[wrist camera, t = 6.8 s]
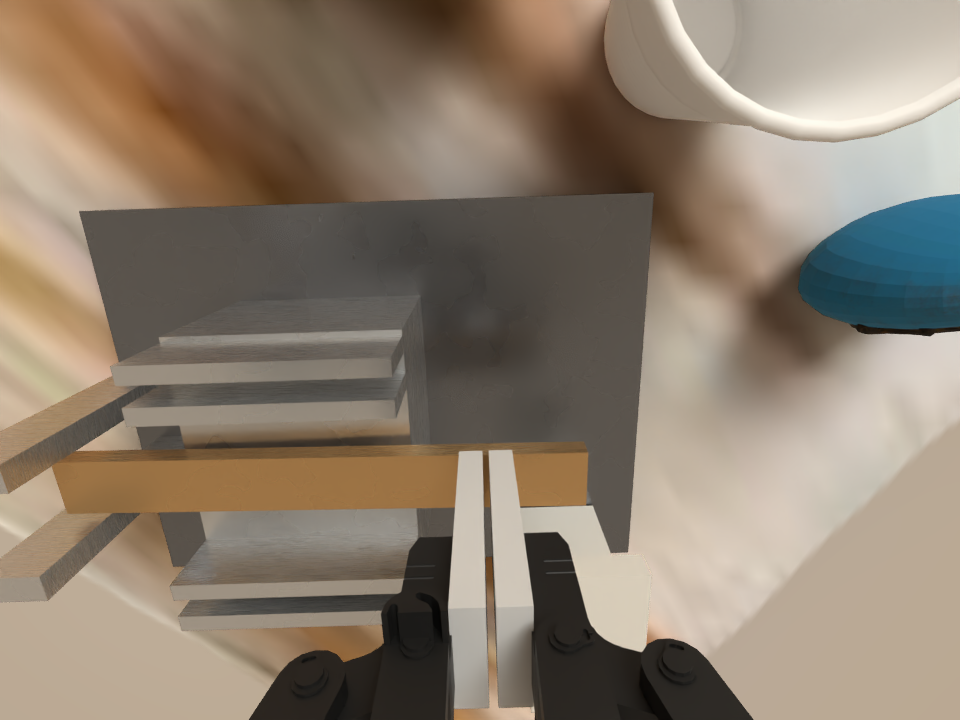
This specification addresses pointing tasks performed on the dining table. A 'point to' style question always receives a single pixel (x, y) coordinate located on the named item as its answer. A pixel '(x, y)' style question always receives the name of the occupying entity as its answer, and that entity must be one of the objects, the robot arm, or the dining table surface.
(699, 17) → the cup
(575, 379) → the base
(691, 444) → the dining table surface
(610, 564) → the block
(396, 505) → the strap
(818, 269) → the ornament
